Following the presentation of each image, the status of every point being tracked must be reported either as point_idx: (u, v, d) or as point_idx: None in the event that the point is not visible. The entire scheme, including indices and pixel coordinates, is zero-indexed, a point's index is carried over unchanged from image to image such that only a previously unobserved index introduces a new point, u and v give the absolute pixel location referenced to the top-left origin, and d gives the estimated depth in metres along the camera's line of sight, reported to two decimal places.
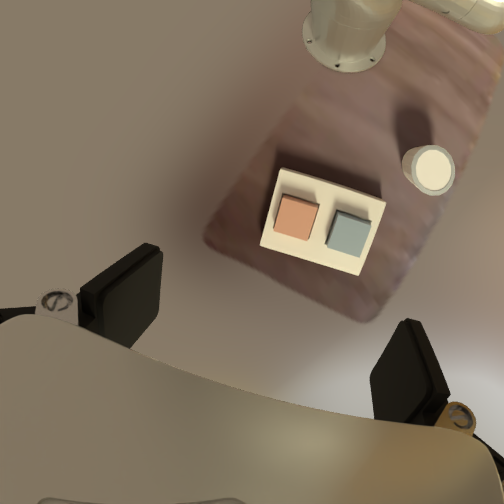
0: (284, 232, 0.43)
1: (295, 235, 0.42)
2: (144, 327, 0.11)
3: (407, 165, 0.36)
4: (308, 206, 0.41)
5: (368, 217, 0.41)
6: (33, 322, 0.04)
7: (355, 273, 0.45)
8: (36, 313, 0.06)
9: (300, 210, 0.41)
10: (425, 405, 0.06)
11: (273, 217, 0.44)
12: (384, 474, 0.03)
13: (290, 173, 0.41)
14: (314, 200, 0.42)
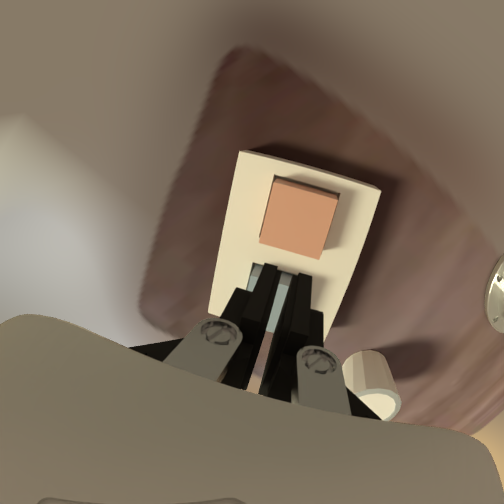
0: (273, 203, 0.23)
1: (267, 222, 0.23)
2: None
3: (374, 372, 0.27)
4: (322, 244, 0.23)
5: None
6: (33, 322, 0.04)
7: (210, 308, 0.30)
8: (189, 335, 0.07)
9: (314, 230, 0.23)
10: (284, 345, 0.08)
11: (294, 175, 0.24)
12: (384, 474, 0.03)
13: (373, 208, 0.23)
14: (327, 246, 0.25)
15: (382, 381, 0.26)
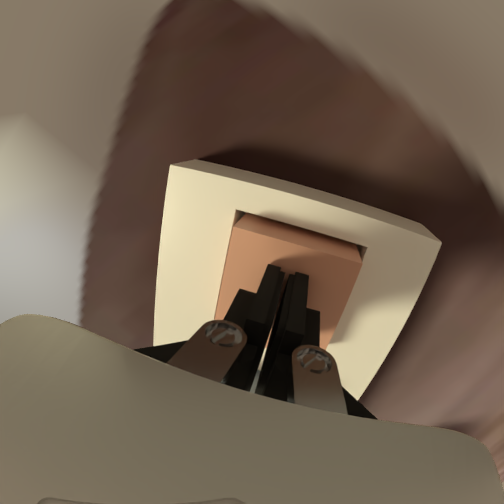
0: (233, 267, 0.12)
1: (226, 300, 0.12)
2: None
3: None
4: (326, 340, 0.12)
5: None
6: (33, 322, 0.04)
7: None
8: (193, 336, 0.07)
9: None
10: (279, 345, 0.08)
11: (276, 212, 0.12)
12: (384, 474, 0.03)
13: (424, 274, 0.12)
14: (334, 338, 0.14)
15: None
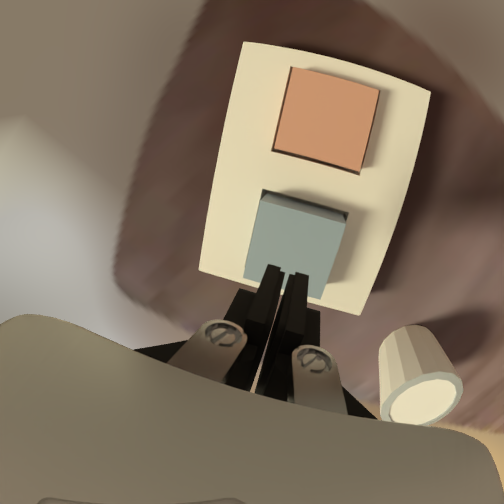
0: (293, 93, 0.15)
1: (286, 119, 0.16)
2: None
3: (428, 352, 0.19)
4: (362, 149, 0.15)
5: (330, 283, 0.20)
6: (33, 322, 0.04)
7: (202, 263, 0.21)
8: (193, 336, 0.07)
9: (350, 129, 0.15)
10: (280, 345, 0.08)
11: (318, 67, 0.15)
12: (384, 474, 0.03)
13: (423, 112, 0.15)
14: (367, 162, 0.17)
15: (441, 362, 0.17)
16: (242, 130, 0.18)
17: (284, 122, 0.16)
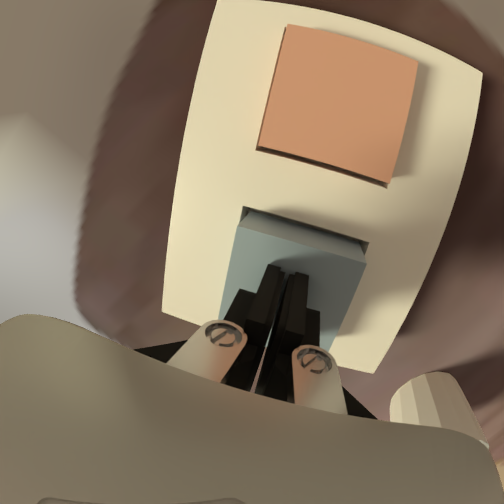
0: (288, 61, 0.09)
1: (277, 100, 0.10)
2: None
3: (453, 412, 0.13)
4: (395, 149, 0.10)
5: (337, 336, 0.14)
6: (33, 322, 0.04)
7: (166, 303, 0.16)
8: (193, 336, 0.07)
9: (377, 117, 0.09)
10: (280, 345, 0.08)
11: (325, 28, 0.09)
12: (383, 474, 0.03)
13: (474, 100, 0.09)
14: (398, 169, 0.11)
15: (468, 426, 0.12)
16: (213, 120, 0.12)
17: (274, 105, 0.10)
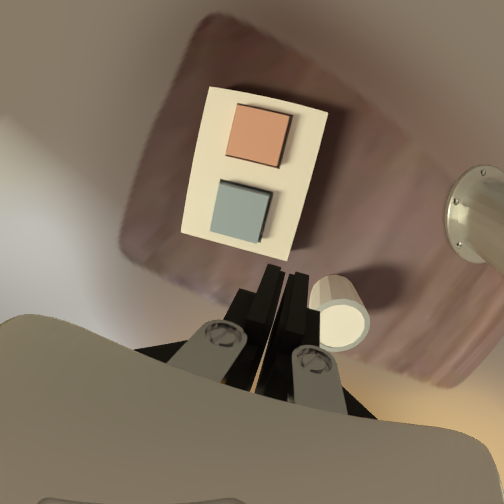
0: (237, 121, 0.27)
1: (233, 136, 0.27)
2: None
3: (340, 288, 0.31)
4: (278, 153, 0.27)
5: (264, 238, 0.32)
6: (33, 322, 0.04)
7: (183, 227, 0.33)
8: (193, 336, 0.07)
9: (271, 141, 0.27)
10: (279, 345, 0.08)
11: (254, 103, 0.27)
12: (384, 474, 0.03)
13: (322, 126, 0.27)
14: (284, 160, 0.29)
15: (348, 294, 0.30)
16: (208, 143, 0.29)
17: (231, 138, 0.27)
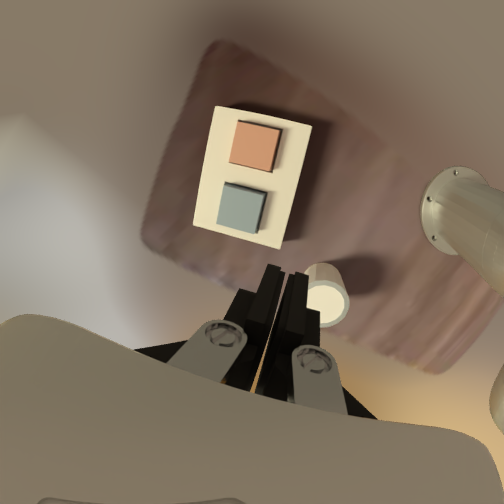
0: (237, 135, 0.34)
1: (234, 147, 0.34)
2: None
3: (324, 273, 0.38)
4: (270, 160, 0.34)
5: (261, 230, 0.39)
6: (33, 322, 0.04)
7: (195, 221, 0.40)
8: (193, 336, 0.07)
9: (264, 151, 0.34)
10: (280, 345, 0.08)
11: (251, 119, 0.34)
12: (384, 474, 0.03)
13: (306, 138, 0.33)
14: (276, 166, 0.35)
15: (329, 277, 0.36)
16: (214, 152, 0.36)
17: (233, 149, 0.34)
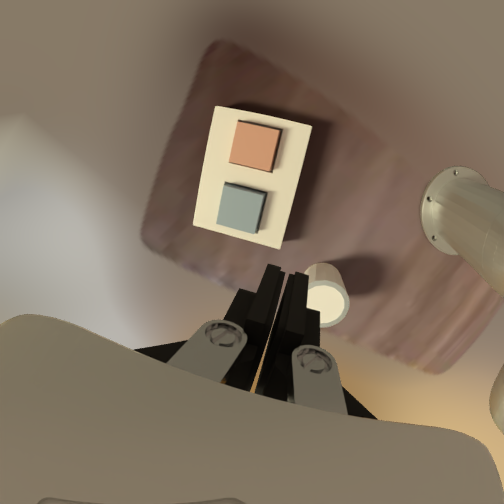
0: (237, 135, 0.34)
1: (234, 147, 0.34)
2: None
3: (324, 273, 0.38)
4: (270, 160, 0.34)
5: (261, 230, 0.39)
6: (33, 322, 0.04)
7: (195, 221, 0.40)
8: (193, 336, 0.07)
9: (264, 151, 0.34)
10: (280, 345, 0.08)
11: (251, 119, 0.34)
12: (383, 474, 0.03)
13: (306, 138, 0.33)
14: (276, 166, 0.35)
15: (330, 277, 0.36)
16: (214, 152, 0.36)
17: (233, 149, 0.34)
